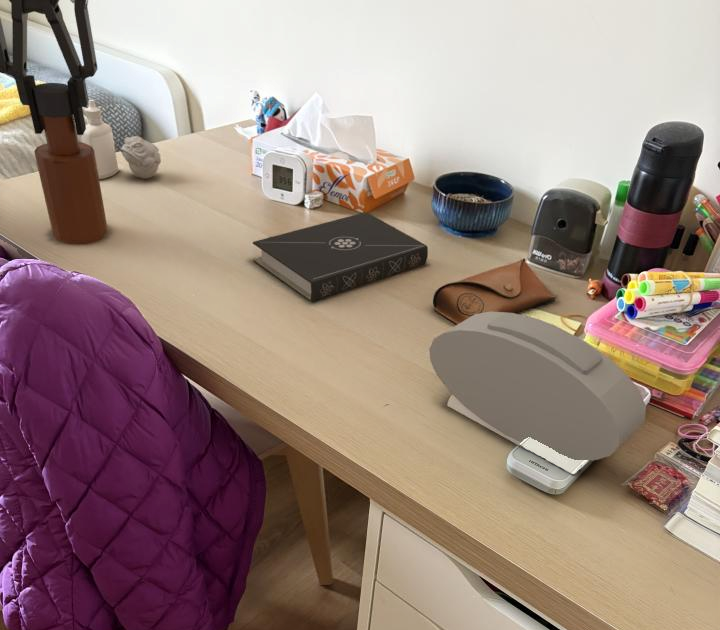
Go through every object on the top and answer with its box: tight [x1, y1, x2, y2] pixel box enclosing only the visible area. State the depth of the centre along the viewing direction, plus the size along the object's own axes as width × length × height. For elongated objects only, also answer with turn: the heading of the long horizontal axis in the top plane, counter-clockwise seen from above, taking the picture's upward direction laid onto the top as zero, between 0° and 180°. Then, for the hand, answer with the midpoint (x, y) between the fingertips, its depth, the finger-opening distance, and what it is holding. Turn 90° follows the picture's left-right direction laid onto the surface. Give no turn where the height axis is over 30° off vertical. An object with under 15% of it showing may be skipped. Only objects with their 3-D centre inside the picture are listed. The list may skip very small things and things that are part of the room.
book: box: [252, 211, 429, 303], centre depth 106 cm, size 22×15×3 cm
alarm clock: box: [428, 312, 647, 461], centre depth 76 cm, size 23×6×13 cm, turn 48°
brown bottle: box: [33, 115, 108, 245], centre depth 103 cm, size 8×8×17 cm
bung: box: [33, 82, 73, 117], centre depth 97 cm, size 5×5×6 cm
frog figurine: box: [120, 135, 162, 179], centre depth 124 cm, size 6×7×7 cm
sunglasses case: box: [432, 258, 558, 326], centre depth 100 cm, size 18×7×7 cm
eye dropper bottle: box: [80, 99, 119, 180], centre depth 122 cm, size 4×6×12 cm
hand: (61, 130), depth 99 cm, fingers closed on bung, 5 cm apart
